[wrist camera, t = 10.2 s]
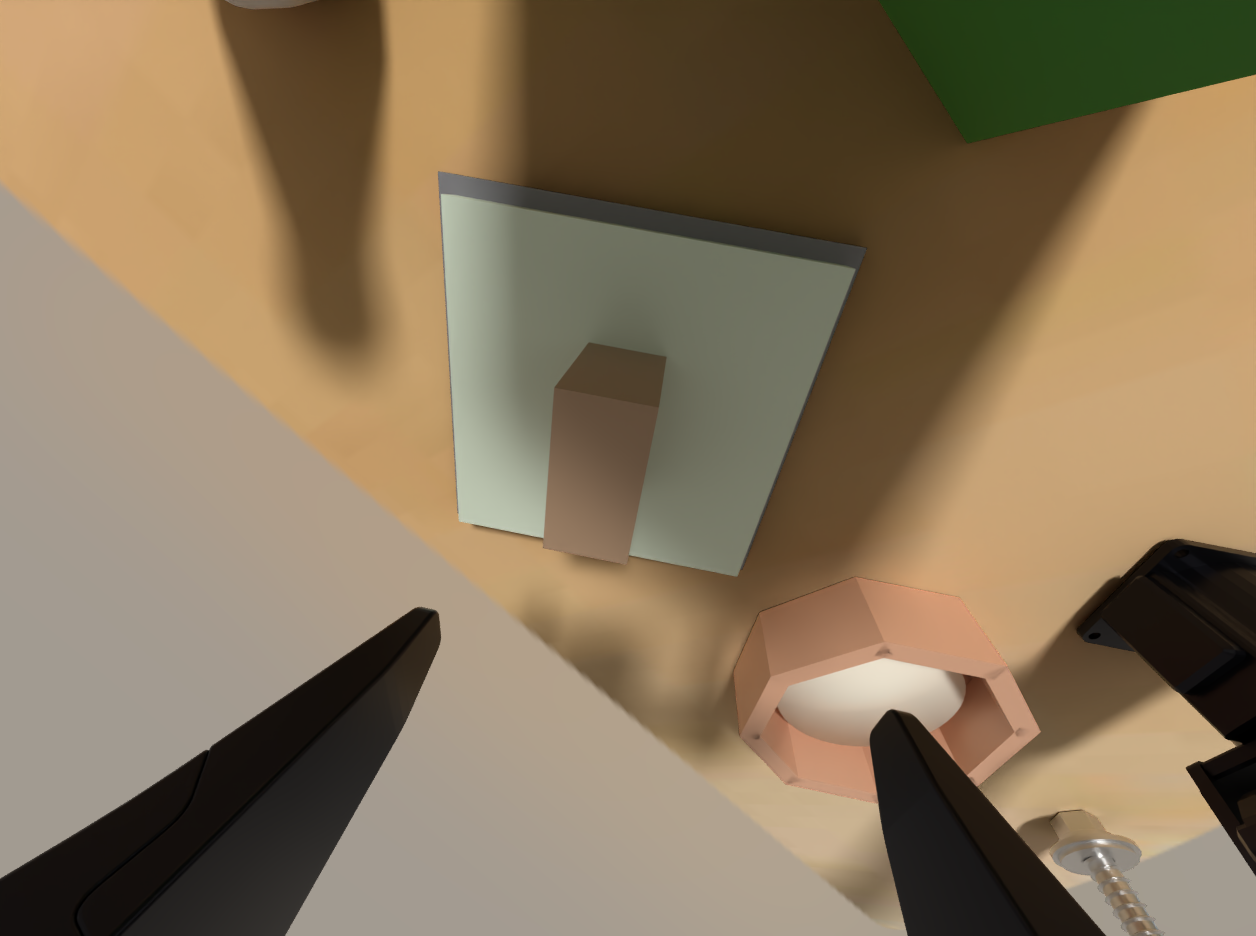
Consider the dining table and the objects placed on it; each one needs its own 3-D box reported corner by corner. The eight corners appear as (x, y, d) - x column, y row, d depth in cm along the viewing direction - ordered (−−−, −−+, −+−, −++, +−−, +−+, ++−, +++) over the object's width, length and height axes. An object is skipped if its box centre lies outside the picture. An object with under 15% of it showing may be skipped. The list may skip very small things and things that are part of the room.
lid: (846, 265, 15) (925, 293, 10) (735, 562, 23) (749, 667, 17) (454, 194, 16) (339, 187, 11) (467, 509, 23) (403, 596, 18)
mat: (861, 246, 16) (867, 248, 15) (740, 562, 23) (742, 569, 23) (446, 172, 16) (437, 171, 15) (462, 506, 24) (457, 513, 23)
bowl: (1034, 612, 23) (1096, 684, 19) (912, 745, 29) (941, 817, 26) (781, 562, 23) (798, 624, 20) (717, 705, 30) (721, 770, 26)
